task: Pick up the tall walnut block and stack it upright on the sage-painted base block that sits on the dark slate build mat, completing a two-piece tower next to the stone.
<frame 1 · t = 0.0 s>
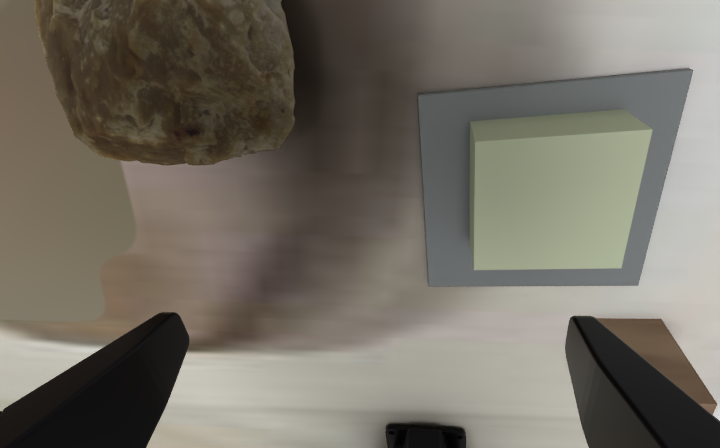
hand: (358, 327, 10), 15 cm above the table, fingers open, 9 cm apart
build mat: (535, 194, 23), on the table
stone: (202, 52, 22), on the table
base block: (538, 181, 22), resting on build mat
walnut block: (619, 341, 27), on the table
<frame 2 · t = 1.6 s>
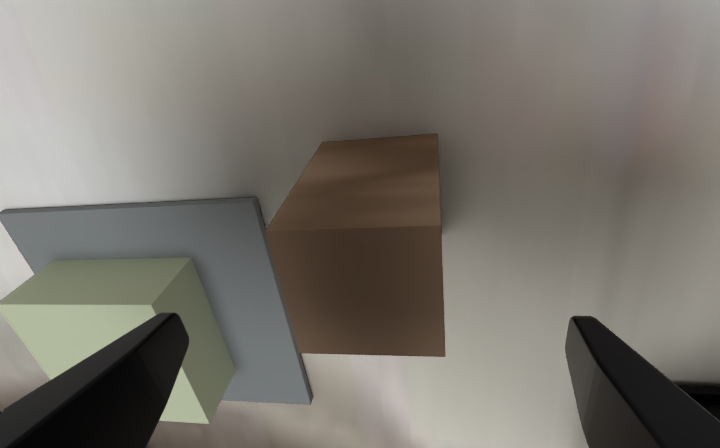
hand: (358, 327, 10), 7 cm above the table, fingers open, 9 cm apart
build mat: (172, 312, 20), on the table
base block: (149, 318, 20), resting on build mat
walnut block: (384, 190, 15), on the table
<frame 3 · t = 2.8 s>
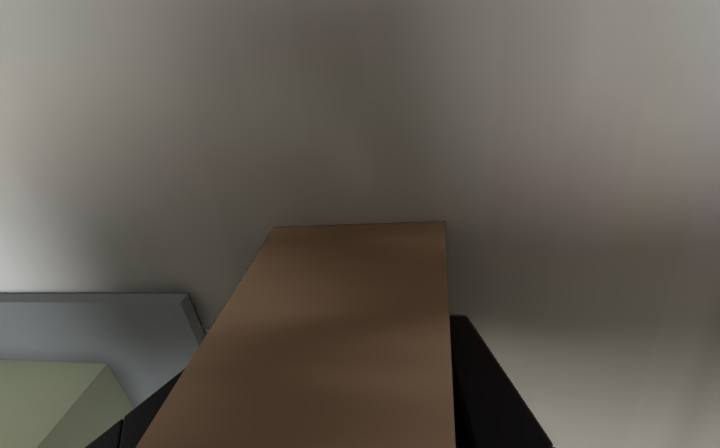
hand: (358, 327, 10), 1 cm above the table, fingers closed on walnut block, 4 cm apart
build mat: (96, 418, 16), on the table
base block: (65, 426, 15), resting on build mat
walnut block: (366, 292, 11), on the table, touching gripper
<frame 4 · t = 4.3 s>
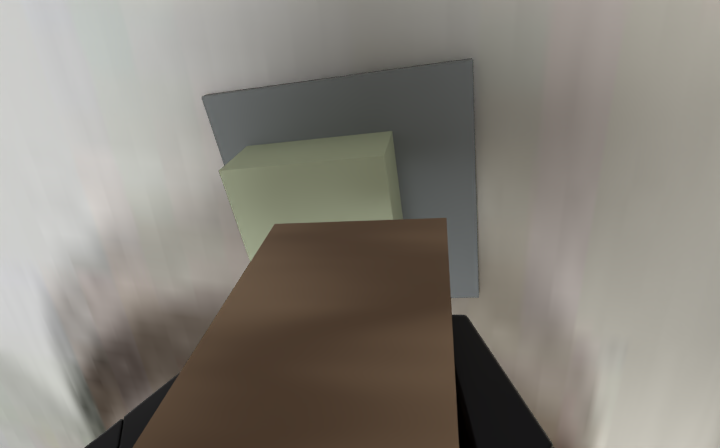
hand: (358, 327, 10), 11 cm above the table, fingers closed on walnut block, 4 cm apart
build mat: (352, 201, 21), on the table
base block: (331, 206, 21), resting on build mat
walnut block: (367, 289, 11), point 10 cm above the table, touching gripper
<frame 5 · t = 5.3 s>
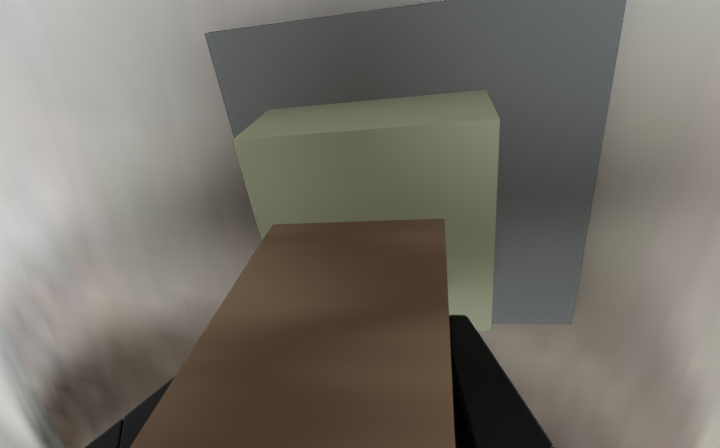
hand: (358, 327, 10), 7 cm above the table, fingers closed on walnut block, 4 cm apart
build mat: (411, 191, 15), on the table
base block: (382, 198, 15), resting on build mat
walnut block: (365, 290, 10), point 6 cm above the table, touching gripper
when the fingers open (6 cm above the table, at t = 5.8 s): walnut block stays where it is, resting on base block.
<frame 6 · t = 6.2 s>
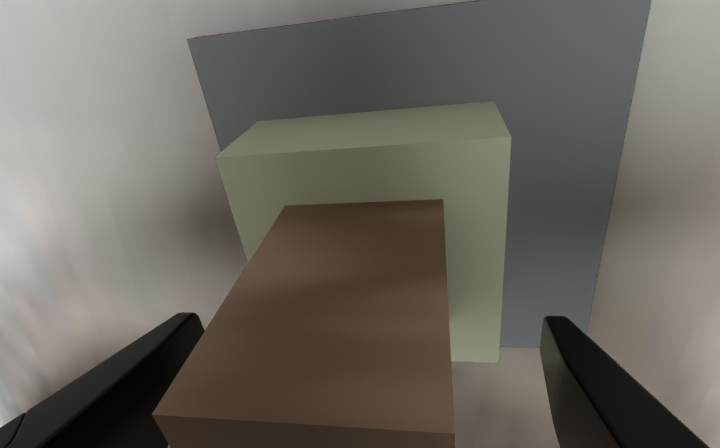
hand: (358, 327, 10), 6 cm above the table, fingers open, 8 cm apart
build mat: (411, 208, 14), on the table
base block: (381, 215, 14), resting on build mat, touching walnut block
walnut block: (370, 267, 11), point 3 cm above the table, touching base block
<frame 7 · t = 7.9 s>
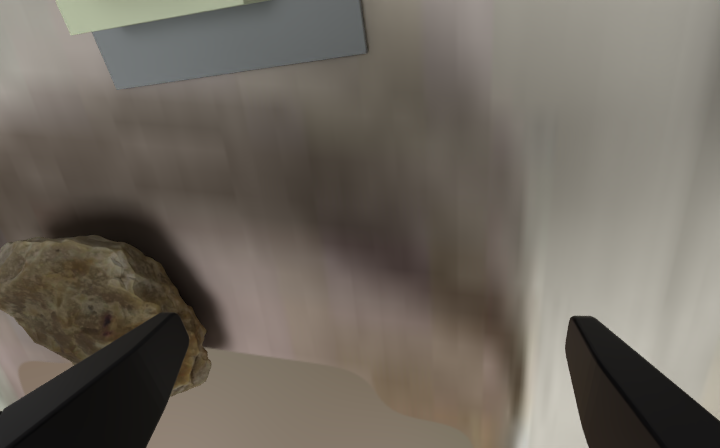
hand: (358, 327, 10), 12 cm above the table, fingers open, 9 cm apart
stone: (138, 284, 27), on the table
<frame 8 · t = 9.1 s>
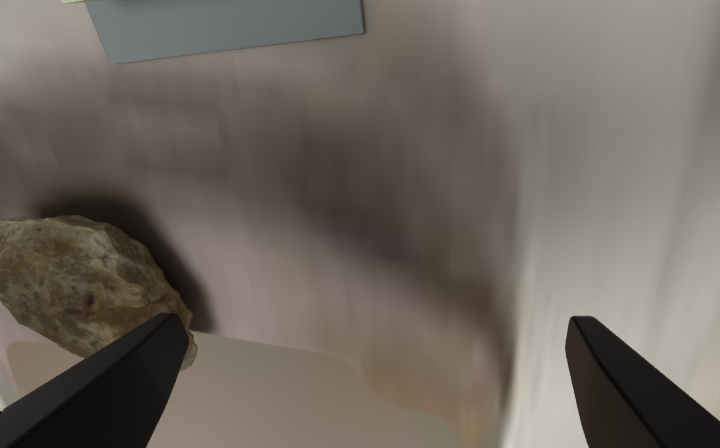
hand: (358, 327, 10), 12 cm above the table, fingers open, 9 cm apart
stone: (126, 268, 27), on the table
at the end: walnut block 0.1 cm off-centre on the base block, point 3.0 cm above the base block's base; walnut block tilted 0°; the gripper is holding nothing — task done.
